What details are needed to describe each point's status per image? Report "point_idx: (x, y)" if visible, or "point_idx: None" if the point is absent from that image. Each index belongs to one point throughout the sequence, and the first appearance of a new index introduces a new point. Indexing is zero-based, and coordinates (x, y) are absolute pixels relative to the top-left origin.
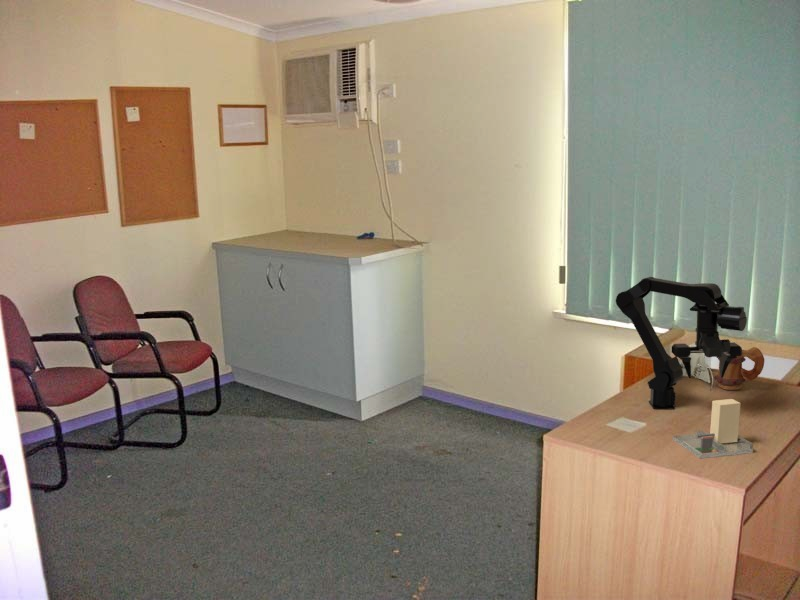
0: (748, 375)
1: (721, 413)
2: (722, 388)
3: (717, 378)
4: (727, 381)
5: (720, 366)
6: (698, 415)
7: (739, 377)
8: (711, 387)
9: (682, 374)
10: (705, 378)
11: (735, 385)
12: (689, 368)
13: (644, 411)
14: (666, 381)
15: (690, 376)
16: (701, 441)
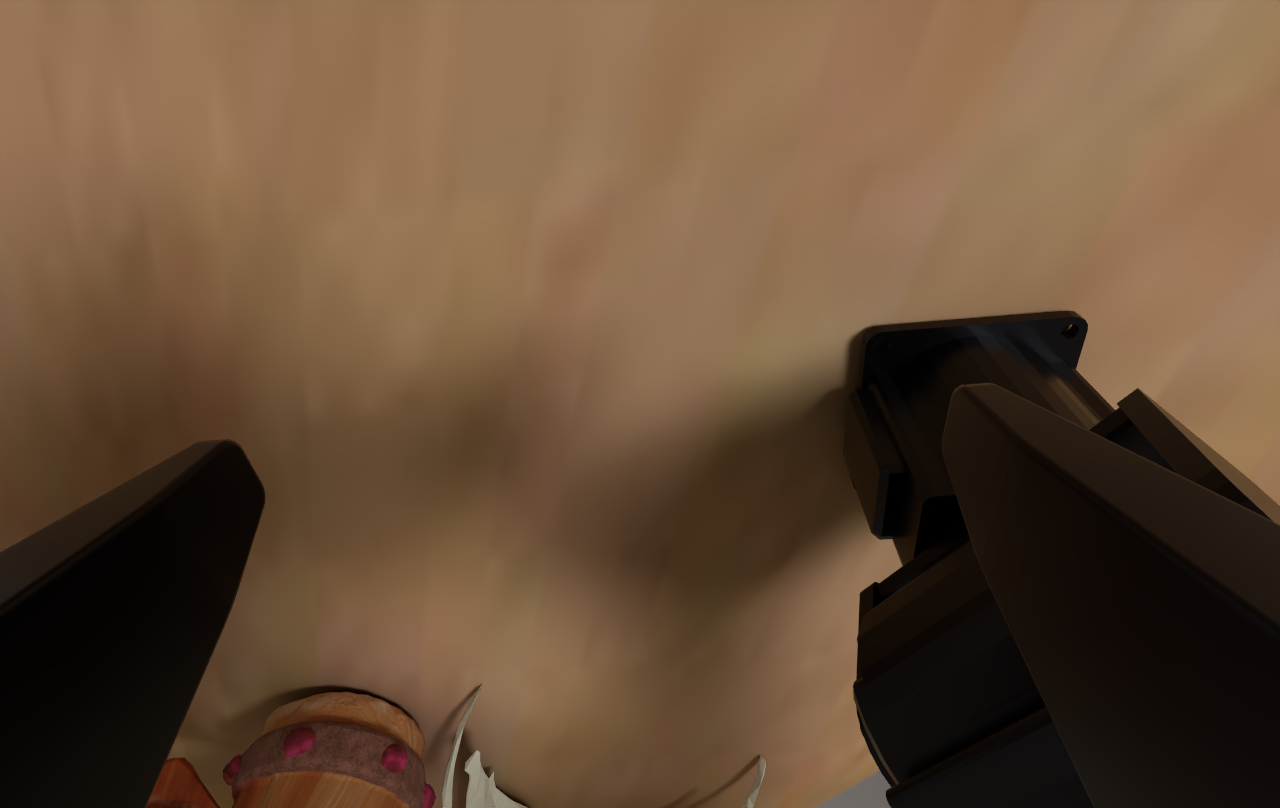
0: (177, 803)
1: None
2: (398, 708)
3: (414, 785)
4: (346, 750)
5: (146, 746)
6: (671, 186)
7: (251, 786)
8: (467, 711)
9: (866, 678)
10: (490, 805)
11: (302, 721)
12: (1231, 551)
13: (1212, 243)
14: (1227, 474)
15: (993, 401)
16: None
